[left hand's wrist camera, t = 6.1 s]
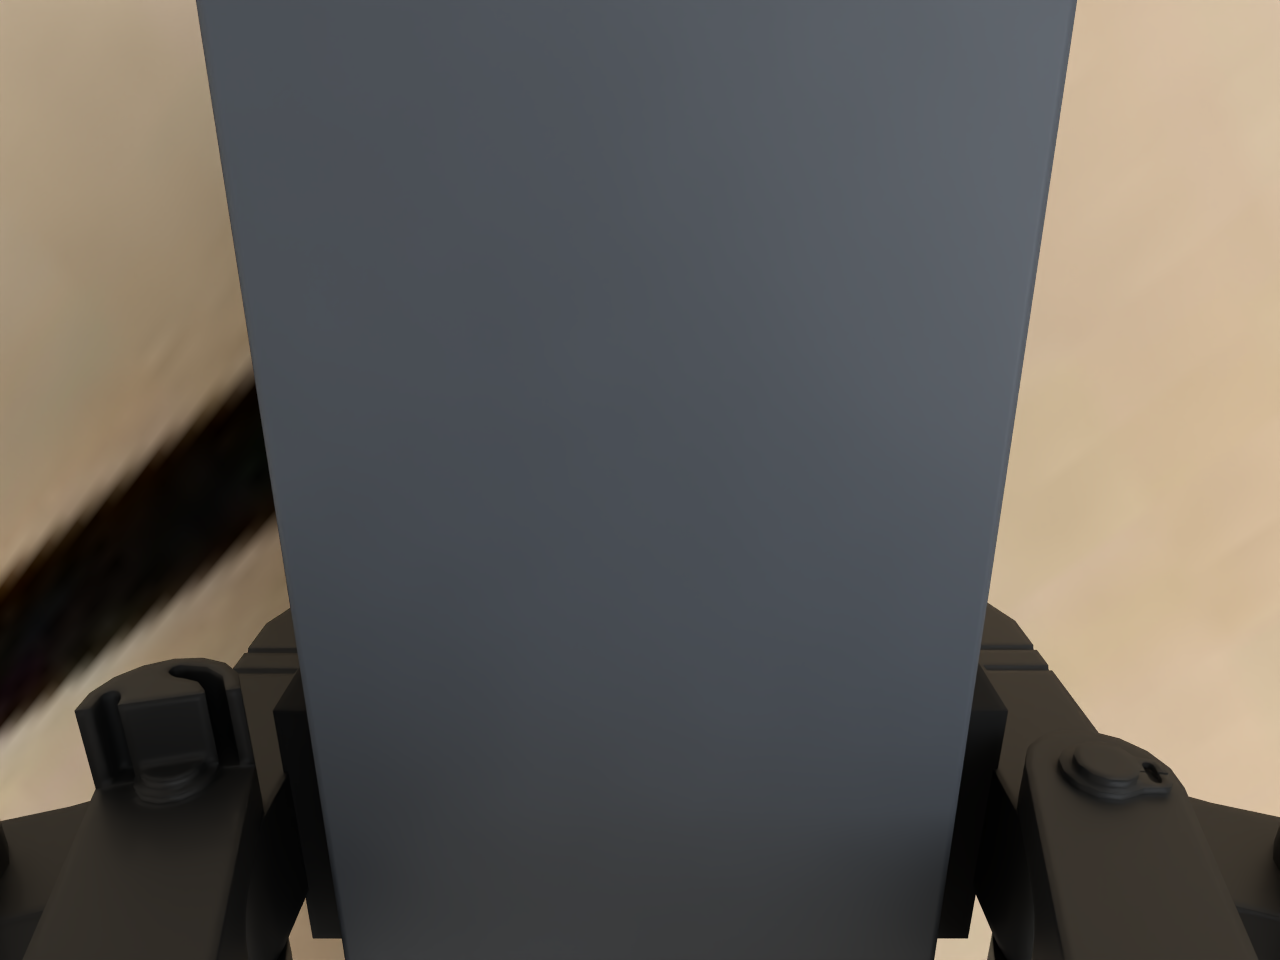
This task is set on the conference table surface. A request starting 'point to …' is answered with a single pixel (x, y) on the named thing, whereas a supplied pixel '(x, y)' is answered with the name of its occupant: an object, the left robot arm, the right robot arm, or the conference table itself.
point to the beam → (637, 448)
